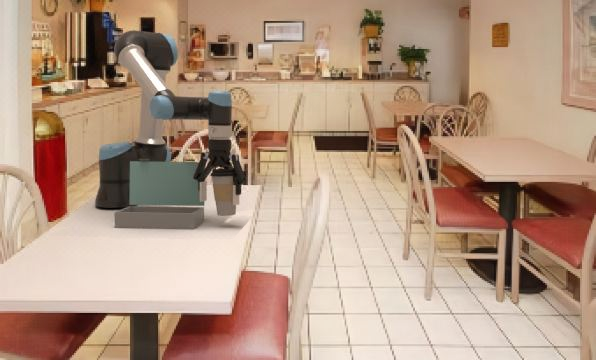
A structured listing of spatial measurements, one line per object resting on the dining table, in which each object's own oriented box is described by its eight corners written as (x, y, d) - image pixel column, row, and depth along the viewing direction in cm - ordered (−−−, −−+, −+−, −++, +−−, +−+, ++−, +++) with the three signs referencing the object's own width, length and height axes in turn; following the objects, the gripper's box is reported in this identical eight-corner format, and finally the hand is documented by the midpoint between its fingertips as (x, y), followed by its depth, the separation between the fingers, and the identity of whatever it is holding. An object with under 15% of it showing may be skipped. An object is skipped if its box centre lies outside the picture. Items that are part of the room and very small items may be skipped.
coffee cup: (235, 216, 198) (233, 169, 197) (207, 216, 200) (205, 170, 199) (244, 212, 208) (242, 168, 206) (217, 212, 210) (215, 168, 208)
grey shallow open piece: (130, 220, 215) (130, 206, 215) (204, 221, 213) (204, 207, 213) (114, 227, 200) (114, 212, 200) (194, 229, 198) (194, 213, 198)
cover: (128, 204, 213) (130, 204, 215) (203, 206, 211) (204, 205, 213) (128, 158, 213) (130, 158, 215) (203, 159, 211) (204, 159, 213)
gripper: (182, 137, 206) (182, 200, 208) (244, 140, 193) (243, 207, 196) (197, 136, 212) (196, 198, 215) (257, 139, 200) (256, 204, 202)
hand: (219, 203), depth 205 cm, fingers open, 13 cm apart
